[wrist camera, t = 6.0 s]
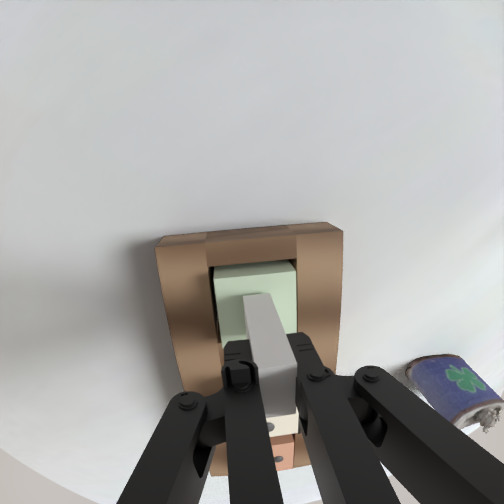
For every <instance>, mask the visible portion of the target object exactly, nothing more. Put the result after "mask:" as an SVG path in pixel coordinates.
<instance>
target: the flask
mask: <svg viewBox="0 0 504 504" xmlns="http://www.w3.org/2000/svg"><path fill="white" fill-rule="evenodd" d="M410 366H412V367H411V368H409V367H410ZM408 368H409V369H407V371H406V374H407V377H408V378H409V379H410V380H411V381H412V383H413V384H414V385H415V386H416V387H417V389H418V390H419V391H420V392H421V393H422V394H423V396H424V397H425V398H426V399H427V401H428V402H429V403H430V404H431V405H432V407H433V408H434V409H435V411H437V412H438V413H439V414H440V415H442V416H443V417H444V418H445V419H447V420H448V421H449V422H451V423H452V424H453V425H454V426H456V427H457V428H458V429H459V430H460V429H462V428H464V427H467V426H470V425H472V424H475V423H479V422H480V426H484V428H483V432H485V433H487V432H488V428H490V427H494V426H495V425H496V424H497V422H496V421H497V420H496V419H498V421H500V419H501V416H500V415H499V414H500V413H501V412H502V410H503V409H504V400H502V399H501V397H499V395H497V394H496V393H495V392H494V390H493V389H491V388H490V387H489V386H488V385H487V384H486V383H485V382H484V381H483V380H482V379H481V378H480V377H479V376H478V375H477V373H476V372H474V371H473V370H472V369H471V368H470V366H469V365H467V363H466V362H465V361H464V360H463V359H462V358H461V357H460V356H456V355H451V354H444V355H433V356H427V357H426V356H424V357H421V358H418V359H416V360H413V361H412V362H411V363H410V364H409V366H408Z"/></svg>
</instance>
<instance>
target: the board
mask: <svg viewBox="0 0 504 504" xmlns="http://www.w3.org/2000/svg"><path fill="white" fill-rule="evenodd" d="M155 253H156V260H157V266H158V272H159V278H160V283H161V289H162V294H163V300H164V305H165V310H166V315H167V320H168V324H169V329H170V334H171V338H172V343H173V347H174V351H175V355H176V360H177V364H178V368H179V372H180V376H181V380H182V383H183V387H184V391H185V392H186V391H193V392H197V393H200V394H201V395H203V396H204V397H206V396H209V395H212V394H215V393H216V392H218V391H220V390H221V389H222V387H223V381H222V375H221V369H222V366H223V365H224V348H222V341H221V333H220V326H219V321H218V319H217V312H216V304H215V296H214V288H213V280H212V271H211V266H221V265H232V264H243V263H253V262H264V261H274V260H284V259H288V261H289V262H290V263H291V265H292V266H293V268H294V269H295V270H296V311H297V332H303V333H305V334H306V335H307V336H309V337H310V339H311V341H312V344H313V345H314V347H315V349H316V351H317V353H318V355H319V357H320V359H321V361H322V363H323V365H324V366H326V367H328V368H330V369H331V370H332V371H333V372H334V374H335V373H336V363H337V353H338V341H339V329H340V314H341V296H342V271H343V231H342V230H340V229H339V228H337V227H335V226H333V225H331V224H329V223H328V222H320V223H307V224H294V225H281V226H269V227H257V228H245V229H234V230H223V231H212V232H201V233H191V234H181V235H171V236H164V237H163V238H162V239H161V241H160V242H159V243H158V244H157V246H156V247H155ZM292 436H293V440H294V457H293V468H296V467H301V466H307V465H311V462H310V459H309V455H308V452H307V449H306V446H305V442H304V439H303V436H302V432H301V434H298V433H293V434H292ZM209 471H210V474H211V476H228V465H227V448H226V442H224V443H221V444H218V445H216V449H215V453H214V456H213V459H212V462H211V465H210V469H209Z"/></svg>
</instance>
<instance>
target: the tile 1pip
mask: <svg viewBox="0 0 504 504" xmlns="http://www.w3.org/2000/svg"><path fill="white" fill-rule="evenodd" d="M214 287H215V295H216V303H217V311H218V318H219V326H220V333H221V341H222V348H224V346H225V345H226V343H227V342H228V341H235V340H245V339H247V338H246V327H245V316H244V305H243V296H246V295H256V294H266V293H270V295H271V297H272V300H273V302H274V305H275V308H276V310H277V313H278V315H279V318H280V320H281V323H282V326H283V328H284V331H285V333H286V334H290V333H297V311H296V270H295V269H294V268H293V266H292V265H291V263H290V262H289V261H288V259H284V260H274V261H264V262H253V263H243V264H232V265H221V266H214Z"/></svg>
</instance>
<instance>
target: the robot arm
mask: <svg viewBox="0 0 504 504" xmlns="http://www.w3.org/2000/svg"><path fill="white" fill-rule="evenodd" d="M243 305H244V316H245V327H246V338H247V339H245V340H235V341H228V342H227V343H226V345H225V346H224V365H223V366H222V369H221V375H222V381H223V387H222V389H221V390H220V391H218V392H216V393H215V394H212V395H209V396H206V397H204V396H203V395H201V394H200V393H197V392H193V391H186V392H182V393H179V394H177V395H175V396H174V397H173V398H172V399H171V400H170V402H169V404H168V406H167V408H166V410H165V412H164V414H163V416H162V418H161V419H160V421H159V423H158V425H157V427H156V429H155V431H154V433H153V435H152V437H151V438H150V440H149V442H148V444H147V446H146V448H145V450H144V452H143V454H142V456H141V458H140V459H139V461H138V463H137V465H136V467H135V469H134V471H133V473H132V475H131V477H130V479H129V480H128V482H127V484H126V486H125V488H124V490H123V492H122V494H121V496H120V498H119V500H118V502H117V503H116V504H198V503H199V500H200V497H201V494H202V491H203V488H204V484H205V481H206V478H207V475H208V472H209V469H210V465H211V462H212V459H213V456H214V453H215V449H216V445H218V444H221V443H224V442H226V448H227V465H228V480H229V494H230V504H284V503H283V498H282V494H281V489H280V484H279V479H278V475H277V470H276V465H275V460H274V455H273V450H272V446H271V441H270V436H269V431H268V426H267V421H266V418H270V417H278V416H284V415H291V414H296V407H297V410H298V413H299V418H298V434H301V432H302V436H303V439H304V442H305V446H306V449H307V452H308V455H309V459H310V462H311V465H312V468H313V472H314V475H315V478H316V481H317V485H318V488H319V491H320V494H321V498H322V501H323V504H401V503H400V501H399V499H398V497H397V495H396V493H395V491H394V489H393V487H392V485H391V483H390V481H389V479H388V477H387V475H386V473H385V471H384V469H383V467H382V465H381V463H382V464H383V465H384V466H385V467H386V468H387V469H388V470H389V471H390V472H391V473H392V475H393V476H394V477H395V478H396V479H397V480H398V481H399V482H400V483H401V484H402V485H403V486H404V487H405V488H406V489H407V490H408V491H409V492H410V493H411V494H412V495H413V496H414V498H415V499H416V500H417V501H418V502H419V503H420V504H504V464H503V463H502V462H500V461H499V460H498V459H496V458H495V457H494V456H493V455H491V454H490V453H489V452H487V451H486V450H485V449H483V448H482V447H481V446H480V445H478V444H477V443H476V442H475V441H473V440H472V439H471V438H470V437H468V436H467V435H466V434H464V433H463V432H462V431H461V430H459V429H458V428H457V427H456V426H454V425H453V424H452V423H451V422H449V421H448V420H447V419H445V418H444V417H443V416H442V415H440V414H439V413H438V412H437V411H435V410H434V409H433V408H432V407H430V406H429V405H428V404H426V403H425V402H424V401H423V400H421V399H420V398H419V397H418V396H416V395H415V394H414V393H413V392H411V391H410V390H409V389H408V388H406V387H405V386H404V385H403V384H401V383H400V382H399V381H398V380H396V379H395V378H394V377H393V376H391V375H390V374H389V373H388V372H386V371H385V370H384V369H382V368H380V367H377V366H364V367H361V368H360V369H358V370H357V371H356V373H355V376H339V375H335V374H334V372H333V371H332V370H331V369H330V368H328V367H326V366H324V365H323V363H322V361H321V359H320V357H319V355H318V353H317V351H316V349H315V347H314V345H313V344H312V341H311V339H310V337H309V336H307V335H306V334H305V333H303V332H297V333H290V334H286V333H285V331H284V328H283V326H282V323H281V320H280V318H279V315H278V313H277V310H276V308H275V305H274V302H273V300H272V297H271V295H270V293H266V294H256V295H246V296H243ZM380 462H381V463H380Z"/></svg>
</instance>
